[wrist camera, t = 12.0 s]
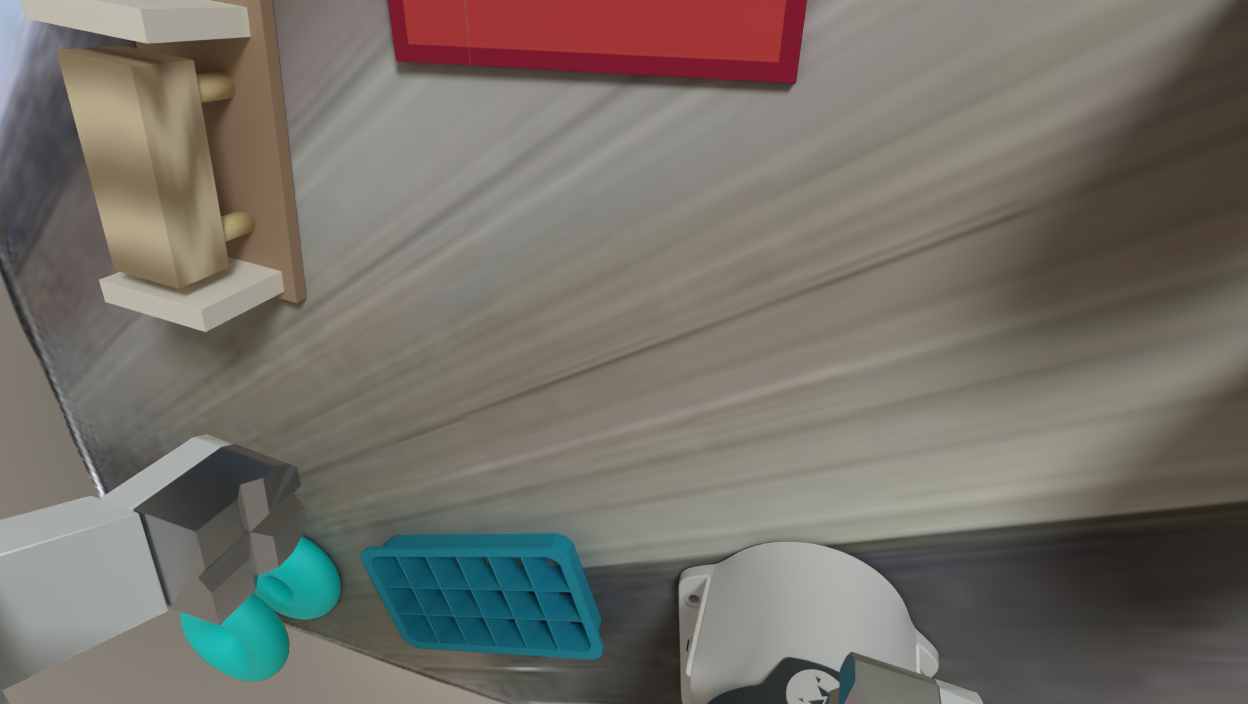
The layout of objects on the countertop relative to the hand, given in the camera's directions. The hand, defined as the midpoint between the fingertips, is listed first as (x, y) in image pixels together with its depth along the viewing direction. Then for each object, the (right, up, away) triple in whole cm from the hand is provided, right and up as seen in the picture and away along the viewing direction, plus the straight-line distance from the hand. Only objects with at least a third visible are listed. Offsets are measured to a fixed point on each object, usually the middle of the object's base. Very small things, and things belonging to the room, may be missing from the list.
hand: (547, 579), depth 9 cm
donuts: (-30, -17, +56) cm, 66 cm away
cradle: (-26, +17, +37) cm, 48 cm away
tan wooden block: (-27, +15, +33) cm, 45 cm away
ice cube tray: (-10, -16, +49) cm, 53 cm away
